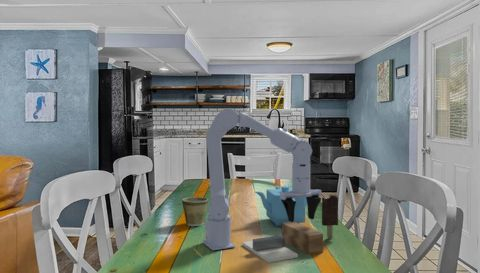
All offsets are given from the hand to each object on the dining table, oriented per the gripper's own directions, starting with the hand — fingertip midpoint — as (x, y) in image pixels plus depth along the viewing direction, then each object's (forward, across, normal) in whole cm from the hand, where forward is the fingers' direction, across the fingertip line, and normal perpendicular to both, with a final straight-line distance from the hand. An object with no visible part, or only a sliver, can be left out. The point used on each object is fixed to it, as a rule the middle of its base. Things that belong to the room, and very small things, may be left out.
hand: (301, 220), depth 119 cm
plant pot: (+9, -22, +40) cm, 47 cm away
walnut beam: (+9, 0, 0) cm, 9 cm away
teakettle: (+9, +10, +27) cm, 31 cm away
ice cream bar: (+9, +13, +2) cm, 16 cm away
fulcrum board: (+8, -12, 0) cm, 14 cm away
